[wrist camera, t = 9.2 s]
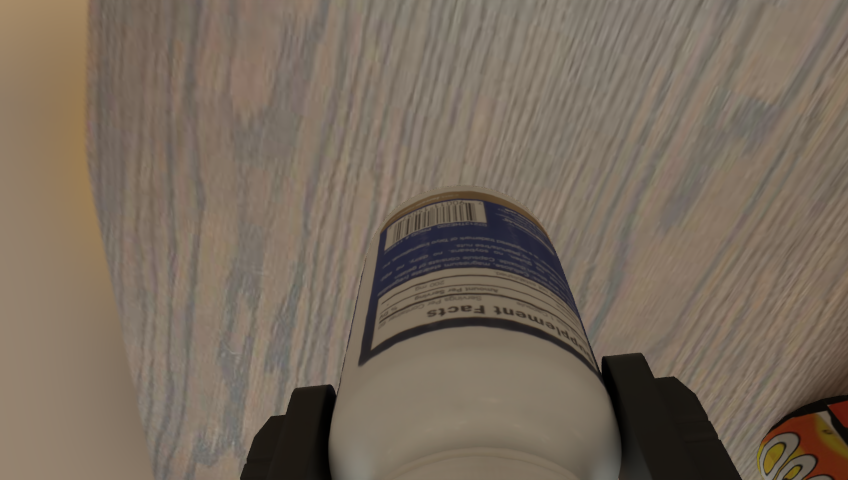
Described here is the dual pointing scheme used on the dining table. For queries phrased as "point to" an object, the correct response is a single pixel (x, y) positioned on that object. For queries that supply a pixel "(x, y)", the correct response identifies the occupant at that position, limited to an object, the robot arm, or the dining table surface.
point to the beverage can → (808, 444)
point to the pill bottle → (469, 353)
